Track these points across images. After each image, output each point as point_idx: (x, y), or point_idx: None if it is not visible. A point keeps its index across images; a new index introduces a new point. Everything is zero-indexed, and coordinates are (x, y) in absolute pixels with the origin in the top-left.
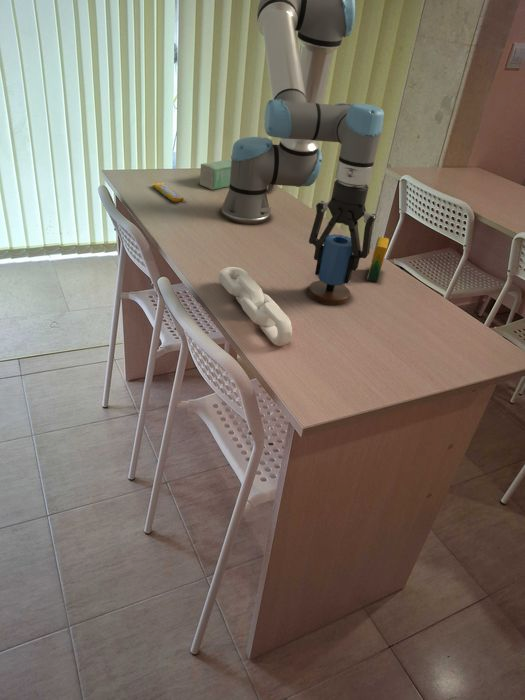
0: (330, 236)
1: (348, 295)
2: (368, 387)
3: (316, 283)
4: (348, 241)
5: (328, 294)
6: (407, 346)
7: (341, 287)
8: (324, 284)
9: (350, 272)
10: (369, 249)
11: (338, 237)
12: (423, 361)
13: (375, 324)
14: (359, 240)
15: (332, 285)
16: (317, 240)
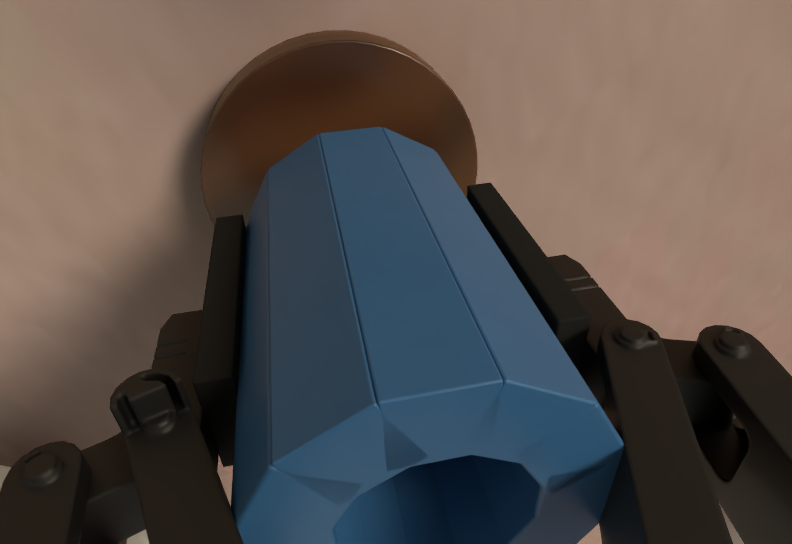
0: (284, 538)
1: (473, 174)
2: None
3: (230, 172)
4: (546, 485)
5: None
6: (747, 316)
7: (400, 102)
8: (282, 147)
9: None
10: (786, 381)
11: (385, 478)
12: (785, 352)
13: (629, 265)
14: (705, 473)
15: None
16: (139, 513)
